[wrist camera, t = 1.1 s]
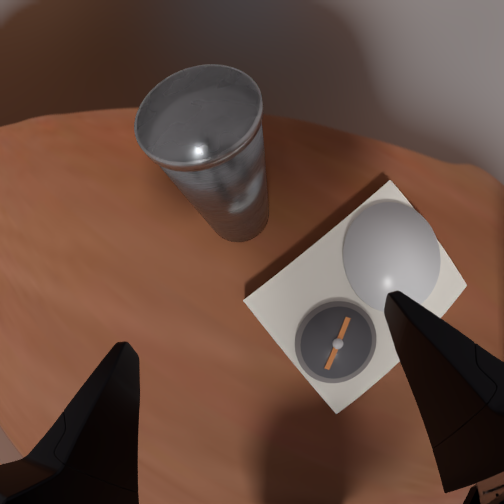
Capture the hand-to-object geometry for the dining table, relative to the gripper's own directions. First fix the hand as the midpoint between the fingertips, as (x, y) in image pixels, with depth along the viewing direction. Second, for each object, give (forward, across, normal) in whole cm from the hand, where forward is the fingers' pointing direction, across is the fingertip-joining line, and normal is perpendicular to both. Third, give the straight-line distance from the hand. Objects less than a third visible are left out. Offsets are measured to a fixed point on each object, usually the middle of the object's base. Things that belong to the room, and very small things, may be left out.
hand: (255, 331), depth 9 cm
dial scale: (+9, -8, +10) cm, 16 cm away
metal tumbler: (+16, +1, +3) cm, 16 cm away
